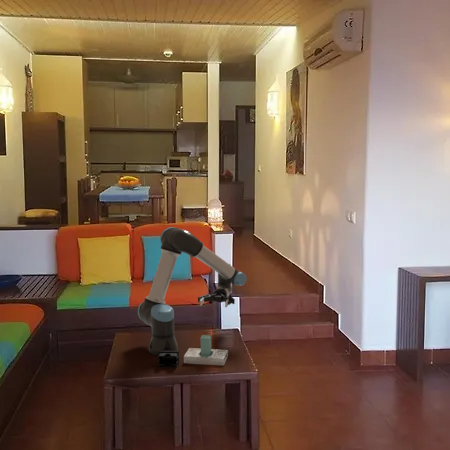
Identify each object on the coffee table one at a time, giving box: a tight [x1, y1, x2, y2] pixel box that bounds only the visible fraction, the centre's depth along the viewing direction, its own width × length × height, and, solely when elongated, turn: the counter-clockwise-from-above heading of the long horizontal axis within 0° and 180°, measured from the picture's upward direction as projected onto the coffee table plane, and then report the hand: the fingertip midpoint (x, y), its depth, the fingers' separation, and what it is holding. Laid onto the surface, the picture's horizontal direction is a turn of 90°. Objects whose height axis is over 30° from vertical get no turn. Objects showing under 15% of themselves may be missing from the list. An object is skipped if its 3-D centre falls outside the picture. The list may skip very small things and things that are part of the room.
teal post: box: [200, 334, 212, 356], centre depth 283 cm, size 4×4×12 cm
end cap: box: [157, 350, 180, 369], centre depth 277 cm, size 10×7×7 cm
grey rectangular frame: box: [183, 347, 229, 366], centre depth 284 cm, size 20×12×4 cm, turn 80°
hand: (213, 304), depth 300 cm, fingers open, 13 cm apart
